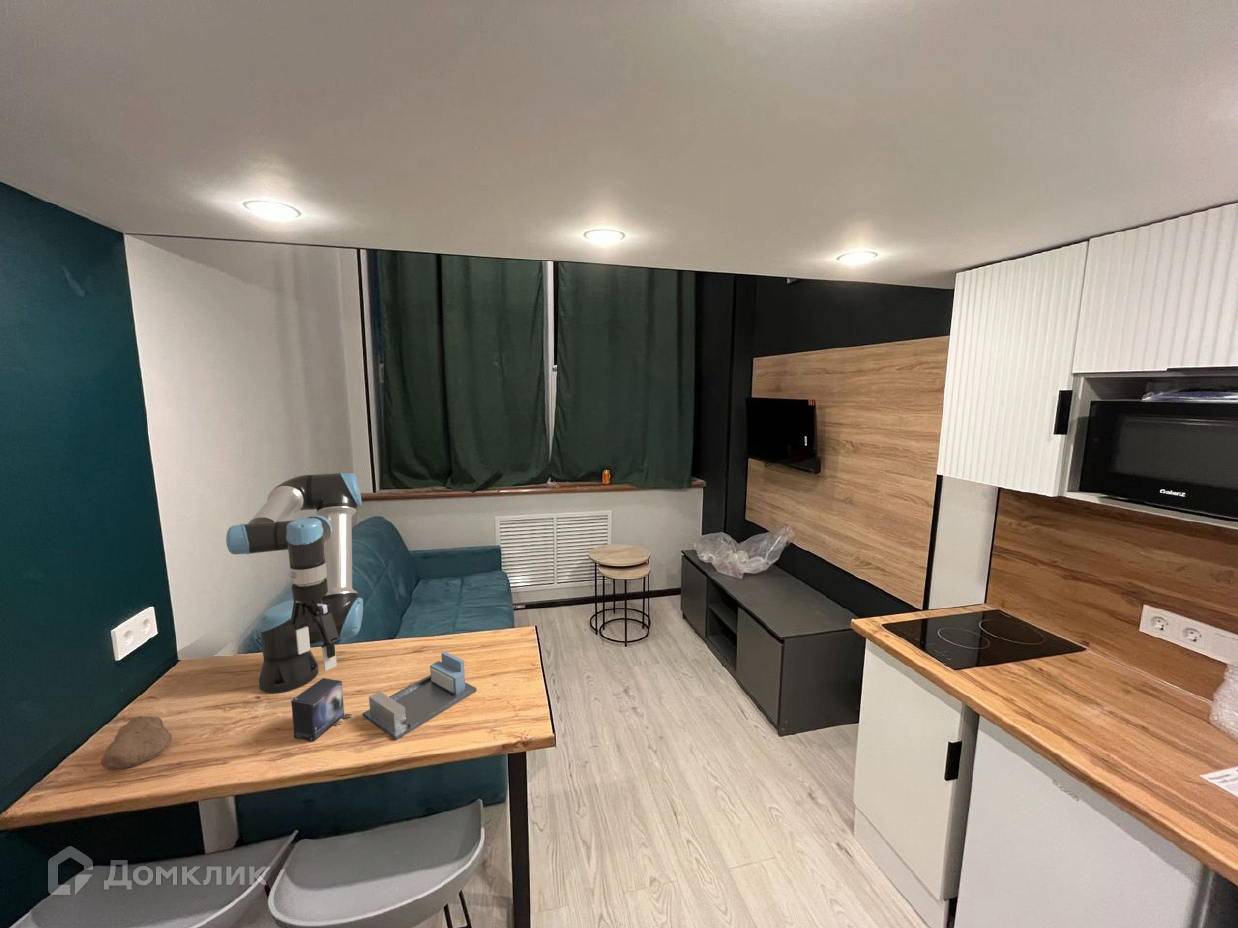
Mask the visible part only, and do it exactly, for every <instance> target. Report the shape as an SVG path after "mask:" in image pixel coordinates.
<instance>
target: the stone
mask: <svg viewBox="0 0 1238 928" xmlns="http://www.w3.org/2000/svg"><path fill="white" fill-rule="evenodd" d="M171 740H172V734H171V733H170V732H169V730H168V729H167V728H166V727H165V726H164V723H163V720H162V718H160V717H158V716H152V715H151V716H146V715H145V716H144V715H143V716H142V715H141V716H140V715H139V716H135V717H133V718H131V719H130V720H129V721H128V722H127V723H126V724H124V725H123V726H121V727H119V728H118V731H117V734H116V735H115V737H114V740H113V741H112V742H110V744H109V746H108V747H107V749H106V750H105V752H104V754H103V756H102V757H101V759H100V765H101V766H102V768H104V769H106V770H107V769H108V770H116V769H120V768H122V769H123V768H124V769H126V768H130V767H135V766H137V765H140V764H142V763H147V762H148V761H150V760H152V759H154V758H156V756H158V755H160V754H161V753H162V751H164V750H165V748H166V747H168V746H169V745H170V743H172V741H171Z"/></svg>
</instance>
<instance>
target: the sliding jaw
mask: <svg viewBox="0 0 1238 928" xmlns="http://www.w3.org/2000/svg"><path fill="white" fill-rule="evenodd" d="M429 668H430V669H429V670H430V671H429V672H430V675H431V681H432V682H434V683H436V684H438V685H439V686H441V687H443V688H445V689H447V690H449V691H450V692H452V693H454V694H456V695H457V694H458V693H460V692H462V691H463V690H465V682H466V678H465V675H466V674H465V660H464V659H462V658H460V657H457V656H455V655H453V654H450V653H449V652H447V651H442V652H441V661H440V660H438V661H436V662H433V663H432V664H429Z"/></svg>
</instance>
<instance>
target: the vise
mask: <svg viewBox="0 0 1238 928" xmlns="http://www.w3.org/2000/svg"><path fill="white" fill-rule="evenodd" d="M476 692H477V687H475V686H473V685H471V684H469V683H467V682H466V681H465V690H463V691H462V692H460V693H458V694H457V695H456V694H454V693H452V692H450V691H449V690H447V689H445V688H443V687H441V686H439V685H438V684H436V683H434V682H432V681H431V674H429V675H427V676H425V677H424V678H422V679H420V680H418V681H416V682H414V683H412V684H410V685H408V686H407V687H404V688H402V689H401V690H399V691H397V692H395V693H393V694H391V695H390V696H388V695H386V694H385V693H383V692H381V691H377V692H376V693H373V694H371V695H369V696H368V705H369V709H368V710H366V711H365V712H362V717H363V718H364V719H365V720H367V721H368V722H370V723H371V724H373V725H374V726H375V727H377V728H378V729H380V730H381V731H382V732H384V733H385V734H387V735H388V736H389V737H391V738H392V739H394V740H396V741H397V740H399V739H401V738H403V737H405V735H407V734H409V733H410V732H412V731H414V730H416V729H417V728H419V727H421V726H422V725H424V724H425V723H427V722H429V721H430V720H433V719H434V718H435V717H437V716H438V715H440V714H441V713H444V712H445V711H447V710H448V709H450V708H452V707H453V706H455V705H456V704H458V703H459V702H461V701H463V700H465V699H466V698H468V697H469V696H471V695H473V694H475V693H476Z"/></svg>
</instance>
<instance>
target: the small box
mask: <svg viewBox="0 0 1238 928" xmlns="http://www.w3.org/2000/svg"><path fill="white" fill-rule="evenodd" d="M343 694H344V691H343V681H342V680H340V679H339V680H338V679H331V678H325V677H322V678H321V679H320V680H318V681H317V682H316V683H314V684H312V685H311V686H310V687H308V688H306V690H304V691H302V692H301V693H300V694H298V695H297V696H295V697H294V698H293V699H291V700H290V703H291V713H292V725H293V727H292V728H293V739H297V740H304V741H307V742H315V741H317V739H319V738H320V737H322V736H323V735H324V733H326V732H327V731H328V730H330V728H332V727H333V726H334V725H336V724H337V723H338V722H339V721H340V720H342V718H344V717H345V708H344V707H345V706H344V705H345V704H344V695H343Z"/></svg>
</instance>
